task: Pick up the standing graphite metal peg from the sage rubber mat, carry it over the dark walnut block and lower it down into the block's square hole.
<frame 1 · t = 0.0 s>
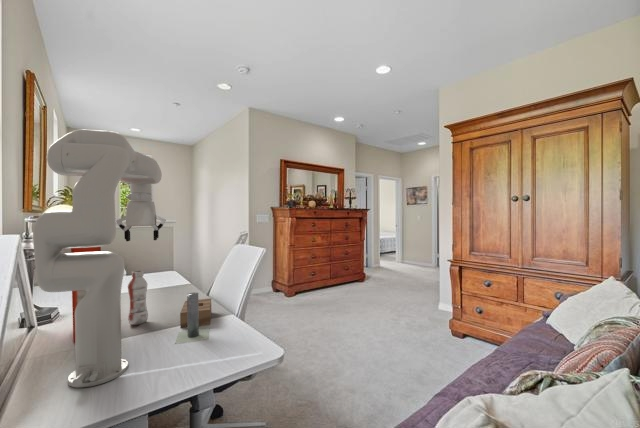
hand: (141, 240, 119), 31 cm above the table, tool pointing down, fingers open, 9 cm apart
file binder: (87, 333, 105), on the table
mat: (193, 337, 99), on the table
plastic bottle: (138, 324, 112), on the table
peg: (193, 335, 99), resting on mat
hole block: (197, 320, 115), on the table
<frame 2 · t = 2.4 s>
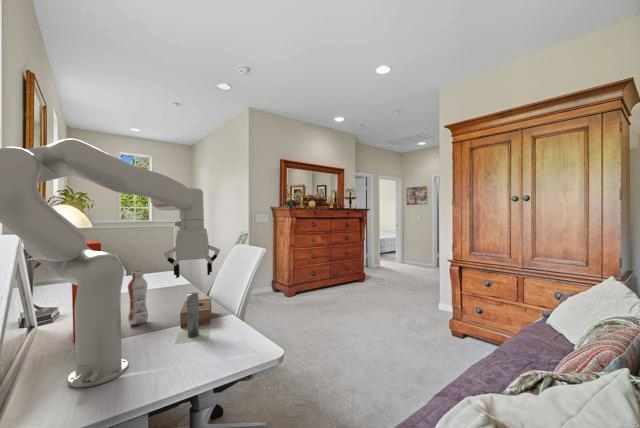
hand: (193, 275, 100), 21 cm above the table, tool pointing down, fingers open, 9 cm apart
nothing on the table moved.
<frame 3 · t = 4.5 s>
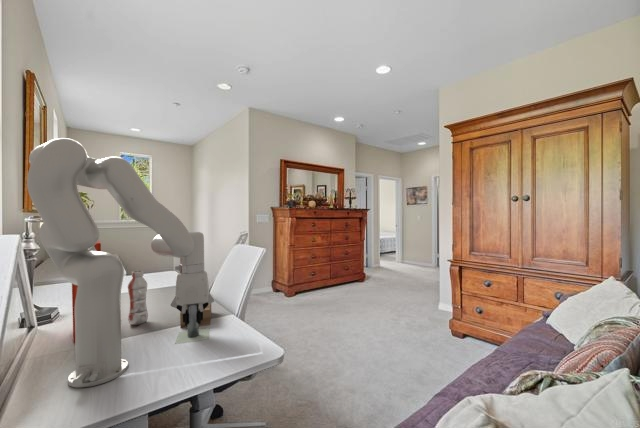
hand: (193, 322, 99), 5 cm above the table, tool pointing down, fingers closed on peg, 3 cm apart
peg: (193, 335, 99), point 1 cm above the table, touching gripper, mat
everything else where it was.
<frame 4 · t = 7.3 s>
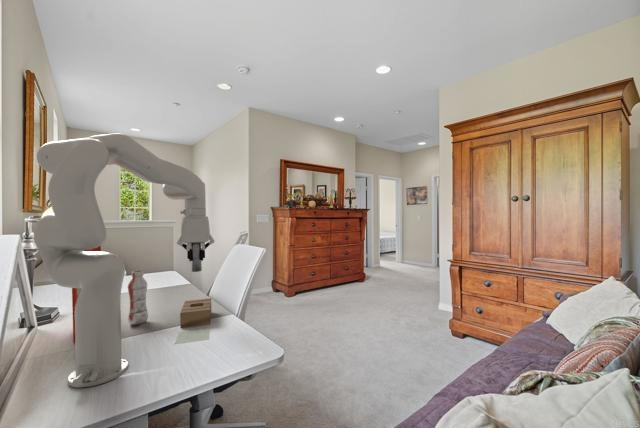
hand: (196, 260, 114), 24 cm above the table, tool pointing down, fingers closed on peg, 3 cm apart
peg: (196, 270, 114), point 19 cm above the table, touching gripper
everything else where it was.
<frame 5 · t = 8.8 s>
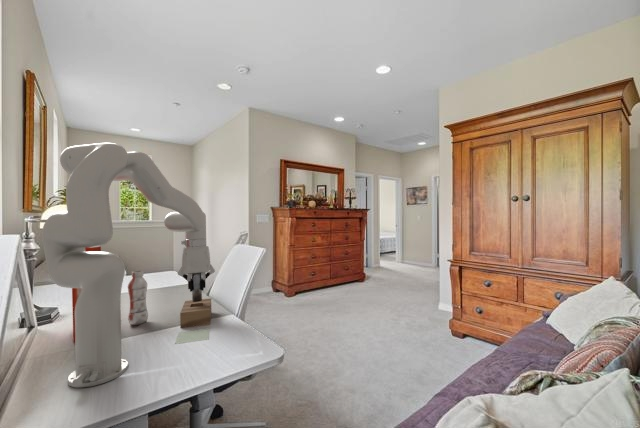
hand: (197, 289, 115), 12 cm above the table, tool pointing down, fingers closed on peg, 3 cm apart
peg: (197, 300, 115), point 8 cm above the table, touching gripper
everything else where it was.
when the fingers open (8 cm above the table, at t = 10.0 s): peg drops 3 cm, resting in hole block.
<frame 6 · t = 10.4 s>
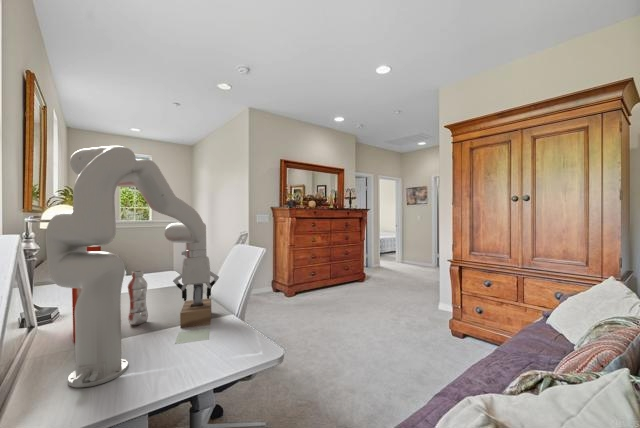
hand: (196, 298, 115), 8 cm above the table, tool pointing down, fingers open, 7 cm apart
peg: (196, 320, 115), resting in hole block
everything else where it was.
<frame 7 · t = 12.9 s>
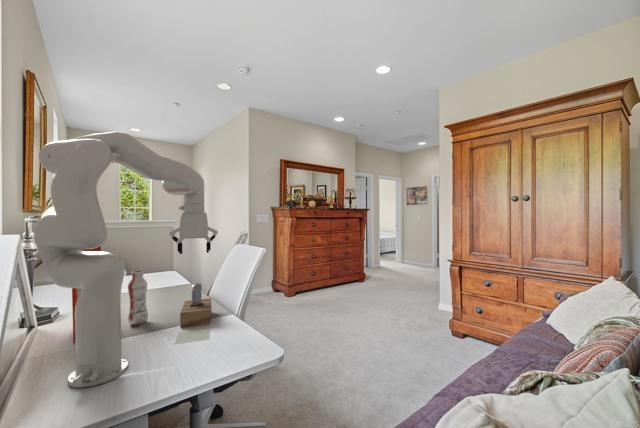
hand: (194, 253, 115), 26 cm above the table, tool pointing down, fingers open, 9 cm apart
nothing on the table moved.
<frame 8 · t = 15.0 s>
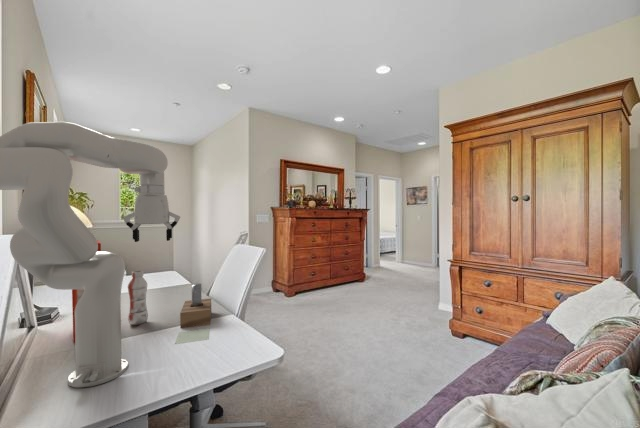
hand: (152, 240, 102), 32 cm above the table, tool pointing down, fingers open, 9 cm apart
nothing on the table moved.
at the end: peg 0.1 cm off-centre on the hole block, point 0.0 cm above the hole block's base; peg tilted 0°; the gripper is holding nothing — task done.
